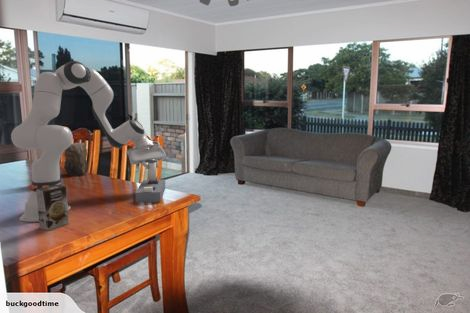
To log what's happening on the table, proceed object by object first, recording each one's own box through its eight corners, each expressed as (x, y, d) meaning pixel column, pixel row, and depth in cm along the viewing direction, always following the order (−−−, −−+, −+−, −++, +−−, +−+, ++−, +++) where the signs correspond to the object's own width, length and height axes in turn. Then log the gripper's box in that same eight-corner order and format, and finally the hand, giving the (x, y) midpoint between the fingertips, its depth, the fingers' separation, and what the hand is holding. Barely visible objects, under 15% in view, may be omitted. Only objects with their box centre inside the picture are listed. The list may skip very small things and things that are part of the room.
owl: (64, 175, 226) (61, 144, 222) (73, 171, 238) (70, 141, 235) (83, 175, 226) (81, 144, 222) (91, 171, 238) (89, 141, 234)
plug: (155, 180, 190) (155, 160, 187) (148, 180, 189) (147, 160, 187) (156, 178, 193) (156, 158, 191) (149, 178, 193) (148, 158, 191)
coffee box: (48, 231, 139) (44, 191, 136) (39, 227, 142) (35, 188, 139) (69, 223, 146) (66, 186, 143) (60, 220, 150) (57, 183, 147)
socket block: (160, 202, 175) (160, 188, 173) (135, 202, 174) (135, 188, 172) (165, 188, 199) (165, 175, 198) (143, 188, 198) (143, 176, 197)
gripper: (127, 145, 186) (136, 167, 181) (161, 142, 199) (171, 161, 194) (123, 152, 190) (132, 174, 185) (158, 148, 203) (167, 168, 198)
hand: (152, 167), depth 190 cm, fingers closed on plug, 4 cm apart
